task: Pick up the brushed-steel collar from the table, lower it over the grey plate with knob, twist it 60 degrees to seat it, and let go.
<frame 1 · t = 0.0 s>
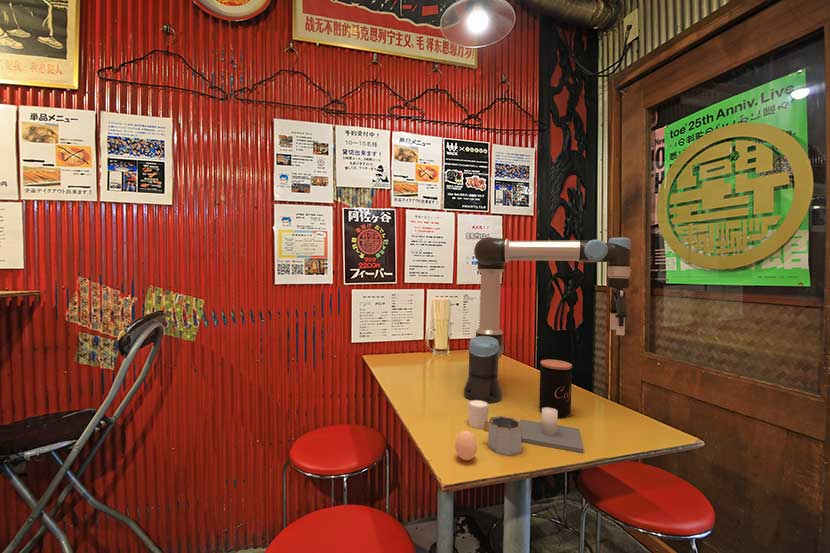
hand: (616, 332, 138), 28 cm above the table, fingers open, 13 cm apart
grey plate with knob: (548, 436, 109), on the table
coffee jar: (554, 413, 128), on the table
egg: (465, 460, 95), on the table
shot glass: (477, 425, 117), on the table
collar: (504, 446, 102), on the table
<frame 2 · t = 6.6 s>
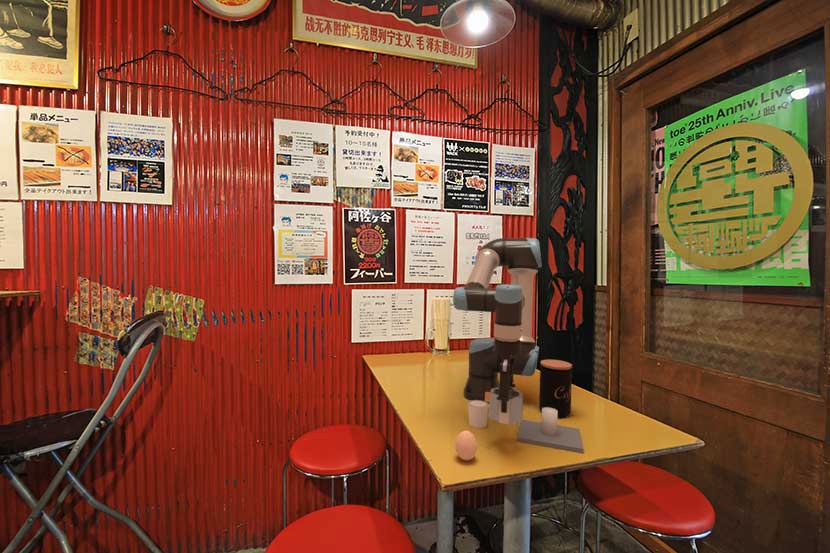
hand: (505, 415, 103), 9 cm above the table, fingers closed on collar, 9 cm apart
collar: (505, 416, 103), point 9 cm above the table, touching gripper
everything else where it was.
when the fingers open (2 cm above the table, at t = 11.0 s): collar stays where it is, resting on grey plate with knob.
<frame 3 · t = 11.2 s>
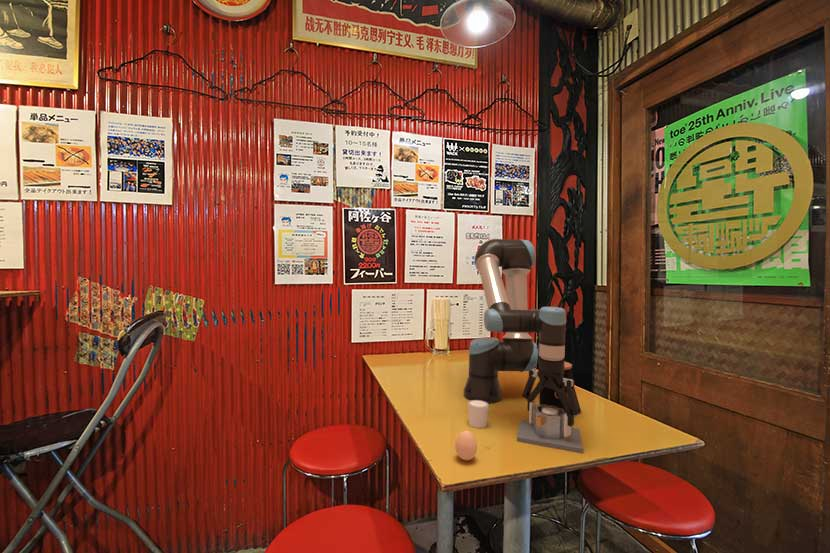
hand: (549, 428, 109), 2 cm above the table, fingers open, 11 cm apart
collar: (548, 432, 110), point 1 cm above the table, touching grey plate with knob
everything else where it was.
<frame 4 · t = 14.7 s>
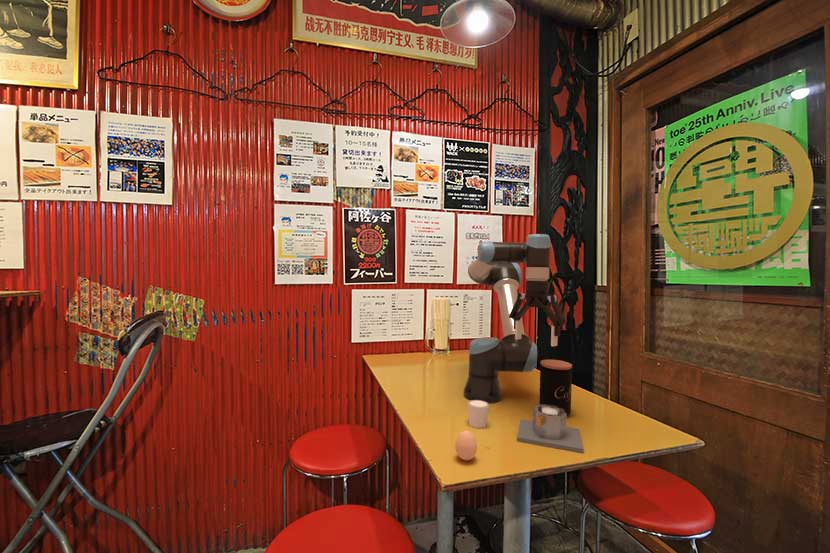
hand: (535, 342, 121), 27 cm above the table, fingers open, 13 cm apart
nothing on the table moved.
at the end: collar 0.1 cm off-centre on the grey plate with knob, point 1.2 cm above the grey plate with knob's base; collar tilted 0°; the gripper is holding nothing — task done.
